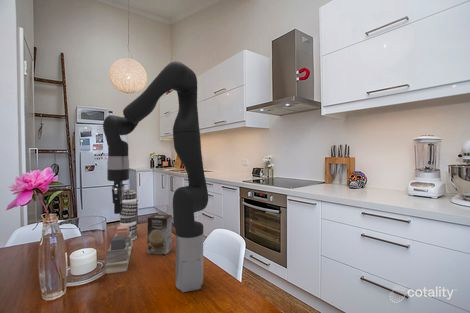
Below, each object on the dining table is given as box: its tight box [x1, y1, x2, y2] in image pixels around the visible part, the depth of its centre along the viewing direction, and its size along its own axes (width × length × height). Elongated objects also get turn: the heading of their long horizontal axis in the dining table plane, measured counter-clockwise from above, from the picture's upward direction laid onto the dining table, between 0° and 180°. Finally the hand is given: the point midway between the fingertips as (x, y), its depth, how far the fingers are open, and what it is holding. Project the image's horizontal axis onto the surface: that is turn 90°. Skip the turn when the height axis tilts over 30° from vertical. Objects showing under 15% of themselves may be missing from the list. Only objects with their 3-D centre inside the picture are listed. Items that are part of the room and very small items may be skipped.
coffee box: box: [146, 213, 173, 256], centre depth 104 cm, size 9×6×16 cm
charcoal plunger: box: [110, 236, 125, 250], centre depth 90 cm, size 4×4×5 cm
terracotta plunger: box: [116, 225, 129, 236], centre depth 103 cm, size 4×4×5 cm
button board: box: [105, 232, 133, 275], centre depth 97 cm, size 24×7×8 cm, turn 19°
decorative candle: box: [118, 188, 139, 241], centre depth 120 cm, size 9×9×25 cm
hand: (118, 212), depth 90 cm, fingers open, 3 cm apart
